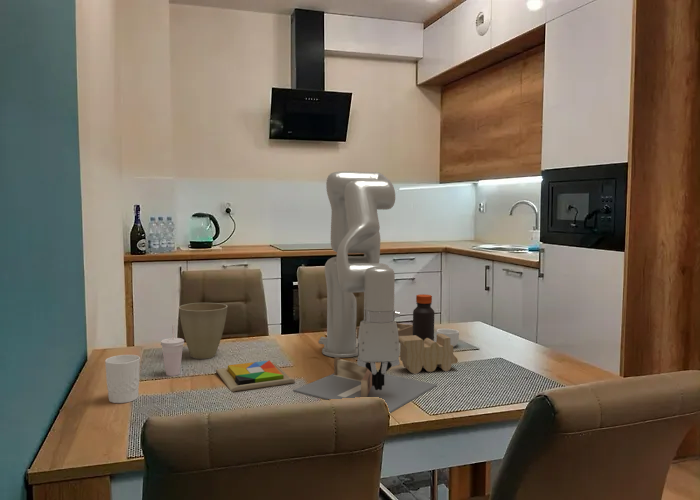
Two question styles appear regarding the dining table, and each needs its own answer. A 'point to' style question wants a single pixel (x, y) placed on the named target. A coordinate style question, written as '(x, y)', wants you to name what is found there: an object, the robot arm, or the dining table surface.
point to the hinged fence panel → (366, 384)
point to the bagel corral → (404, 330)
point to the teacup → (450, 335)
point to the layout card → (392, 392)
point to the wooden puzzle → (253, 375)
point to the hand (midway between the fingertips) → (377, 388)
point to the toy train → (426, 353)
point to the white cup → (122, 378)
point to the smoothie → (172, 354)
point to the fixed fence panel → (348, 369)
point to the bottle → (423, 317)
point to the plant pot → (203, 327)
